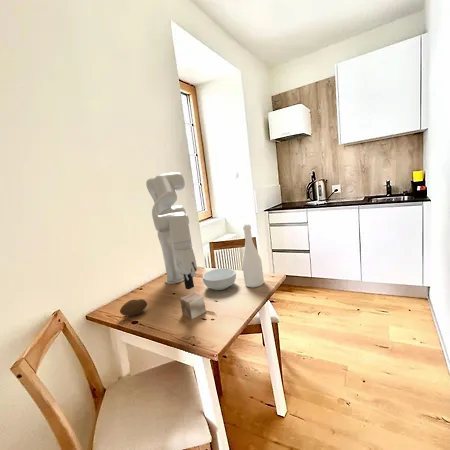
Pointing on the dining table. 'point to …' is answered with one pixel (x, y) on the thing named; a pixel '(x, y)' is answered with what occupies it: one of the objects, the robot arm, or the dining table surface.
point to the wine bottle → (251, 261)
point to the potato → (133, 307)
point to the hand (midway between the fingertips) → (189, 287)
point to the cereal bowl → (219, 278)
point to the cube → (192, 305)
